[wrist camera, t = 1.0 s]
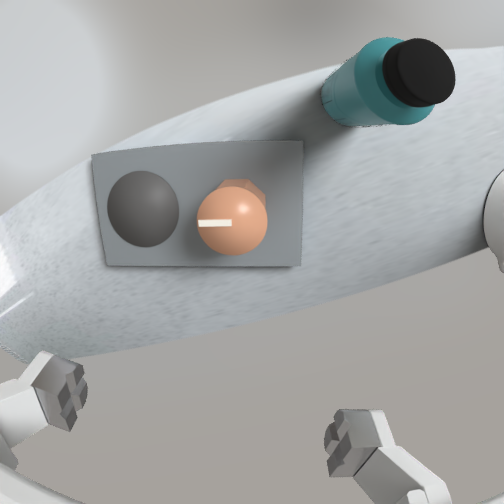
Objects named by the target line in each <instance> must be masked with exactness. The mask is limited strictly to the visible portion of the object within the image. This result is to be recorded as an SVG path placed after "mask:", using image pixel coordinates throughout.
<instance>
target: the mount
mask: <svg viewBox="0 0 504 504" xmlns="http://www.w3.org/2000/svg"><path fill="white" fill-rule="evenodd" d="M92 166H93V176H94V185H95V194H96V201H97V209H98V215H99V222H100V228H101V234H102V240H103V246H104V251H105V257H106V262H107V265H110V266H301V253H302V222H303V141H294V140H262V141H225V142H205V143H189V144H176V145H164V146H154V147H144V148H135V149H127V150H119V151H111V152H104V153H98V154H93V155H92ZM225 179H249V180H250V181H251V182H252V183H253V184H254V185H255V186H256V187H258V188H259V189H260V190H261V191H262V192H263V193H264V194H265V200H266V212H267V230H266V233H265V236H264V238H263V240H262V241H261V242H260V244H259V245H258V246H257V247H255V248H254V249H253V250H251V251H249V252H247V253H245V254H241V255H225V254H221V253H219V252H216V251H215V250H213V249H211V248H210V247H209V246H208V245H207V244H206V243H205V242H204V241H203V239H202V238H201V236H200V234H199V231H198V228H197V213H198V210H199V207H200V205H201V204H202V202H203V201H204V199H205V198H206V197H207V196H208V195H209V194H210V193H211V192H213V191H214V190H216V188H217V187H218V186H219V185H220V184H221V183H222V182H223V181H224V180H225Z"/></svg>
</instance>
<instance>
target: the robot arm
mask: <svg viewBox="0 0 504 504" xmlns="http://www.w3.org/2000/svg"><path fill="white" fill-rule="evenodd" d="M484 232H485V237H486V241H487V244H488V246H489V248H490V249H491V251H492V252H493V253H494V254H495V255H496V257H497V259H498V264H499V268H500V270H501V271H502V272H503V273H504V171H503V172H501V174H500V175H499V176H498V177H497V179H496V180H495V182H494V183H493V185H492V187H491V189H490V192H489V195H488V198H487V201H486V205H485V211H484ZM83 375H84V369H83V365H80V364H78V363H75V362H73V361H70V360H67V359H65V358H62V357H59V356H57V355H54V354H51V353H49V352H46V351H44V350H43V351H41V352H39V353H38V355H37V356H36V357H35V358H34V360H33V361H32V362H31V363H30V365H29V366H28V367H27V368H26V370H25V371H24V372H23V373H22V375H21V376H20V377H19V379H18V380H17V379H12V380H9V381H7V382H4V383H1V384H0V504H85V503H82V502H80V501H77V500H75V499H72V498H70V497H68V496H65V495H63V494H61V493H58V492H56V491H54V490H52V489H50V488H47V487H45V486H43V485H41V484H39V483H37V482H35V481H33V480H31V479H29V478H27V477H25V476H24V475H22V474H20V473H18V472H16V471H15V469H16V467H17V465H18V460H17V458H16V457H15V455H14V454H13V453H12V451H11V448H12V447H14V446H15V445H17V444H19V443H20V442H22V441H24V440H25V439H27V438H28V437H30V436H32V435H33V434H35V433H36V432H38V431H40V430H41V429H43V428H44V427H46V426H47V425H48V424H50V425H53V426H55V427H58V428H61V429H63V430H66V431H69V432H70V431H71V429H72V427H73V425H74V423H75V421H76V419H77V415H76V411H78V410H80V409H82V408H83V406H84V404H85V402H86V398H87V383H86V381H85V380H84V379H83V378H82V376H83ZM334 420H335V422H333V423H331V424H330V425H329V426H328V428H327V430H326V433H325V438H324V446H325V451H326V452H327V453H328V454H329V455H330V457H329V459H328V460H327V465H328V471H329V477H353V478H354V480H355V481H356V482H357V483H358V484H359V486H360V487H361V488H362V489H363V490H364V491H365V493H366V494H367V495H368V496H369V497H370V499H371V500H372V501H373V502H374V503H375V504H453V503H452V500H451V497H450V494H449V492H448V489H447V486H446V484H445V482H444V481H442V480H441V479H440V478H439V477H437V476H436V475H435V474H434V473H432V472H431V471H430V470H428V469H427V468H426V467H425V466H424V465H422V464H421V463H420V462H419V461H418V460H416V459H415V458H414V457H413V456H411V455H410V454H409V453H408V452H407V451H405V450H404V449H403V448H402V447H401V446H396V444H395V441H394V439H393V436H392V433H391V430H390V428H389V425H388V422H387V419H386V417H385V414H384V412H383V411H382V410H349V409H339V410H338V411H337V412H336V413H335V415H334ZM477 504H504V492H503V493H501V494H499V495H496V496H494V497H492V498H489V499H487V500H485V501H482V502H480V503H477Z"/></svg>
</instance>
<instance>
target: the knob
mask: <svg viewBox="0 0 504 504" xmlns="http://www.w3.org/2000/svg"><path fill="white" fill-rule="evenodd" d="M197 228H198V231H199V234H200V236H201V238H202V239H203V241H204V242H205V243H206V244H207V245H208V246H209V247H210V248H211V249H213V250H215V251H216V252H219V253H221V254H225V255H241V254H245V253H247V252H249V251H251V250H253V249H254V248H255V247H257V246H258V245H259V244H260V242H261V241H262V240H263V238H264V236H265V233H266V230H267V212H266V200H265V194H264V193H263V192H262V191H261V190H260V189H259V188H258V187H256V186H255V185H254V184H253V183H252V182H251V181H250V180H249V179H225V180H224V181H223V182H222V183H221V184H220V185H219V186H218V187H217V188H216V190H214V191H213V192H211V193H210V194H209V195H208V196H207V197H206V198H205V199H204V201H203V202H202V204H201V205H200V207H199V210H198V213H197Z"/></svg>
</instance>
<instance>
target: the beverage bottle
mask: <svg viewBox="0 0 504 504" xmlns="http://www.w3.org/2000/svg"><path fill="white" fill-rule="evenodd" d="M332 73H333V72H332ZM328 77H329V78H328V79H327V78H326V79H327V80H326V79H325V81H326V82H325V83H324V85H323V84H322V85H323V86H322V87H323V88H322V87H321V88H322V93H321V94H322V96H321V98H322V99H321V100H322V102H323V104H322V105H324V108H325V110H326V111H327V113H328V114H329V115H330V116H331V117H332V118H333V119H334V120H335V121H337V122H339V123H340V124H343V125H346V126H347V127H348V126H352V127H353V126H362V127H363V126H366V127H371V125H382V126H383V124H396V125H410V124H414V123H417V122H419V121H421V120H423V119H424V118H426V117H427V116H428V115H429V114H430V112H431V111H432V110H433V108H434V106H435V104H438V103H441V102H443V101H445V100H446V99H447V98H448V97H449V96H450V95H451V94H452V92H453V89H454V86H455V71H454V67H453V65H452V62H451V60H450V59H449V57H448V55H447V54H446V53H445V52H444V51H443V50H442V49H441V48H440V47H439V46H438V45H436V44H435V43H433V42H431V41H429V40H426V39H420V38H417V39H416V38H414V39H410V40H407V41H404V40H401V39H397V38H389V37H386V38H379V39H376V40H373V41H371V42H370V43H368V44H367V45H365V46H364V47H363V48H362V49H361V51H360V52H358V53H357V54H356V55H355V56H354V57H352V58H351V59H349V60H348V61H347V62H346V63H344V64H343V65H342V66H341V67H340V68H339V69H338V70H337V71H335V72H334V73H333V74H332V75H331V76H330V75H329V76H328ZM337 122H336V123H337ZM343 125H342V126H343ZM367 125H370V126H367ZM373 127H374V126H373ZM376 127H378V126H376Z"/></svg>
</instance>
